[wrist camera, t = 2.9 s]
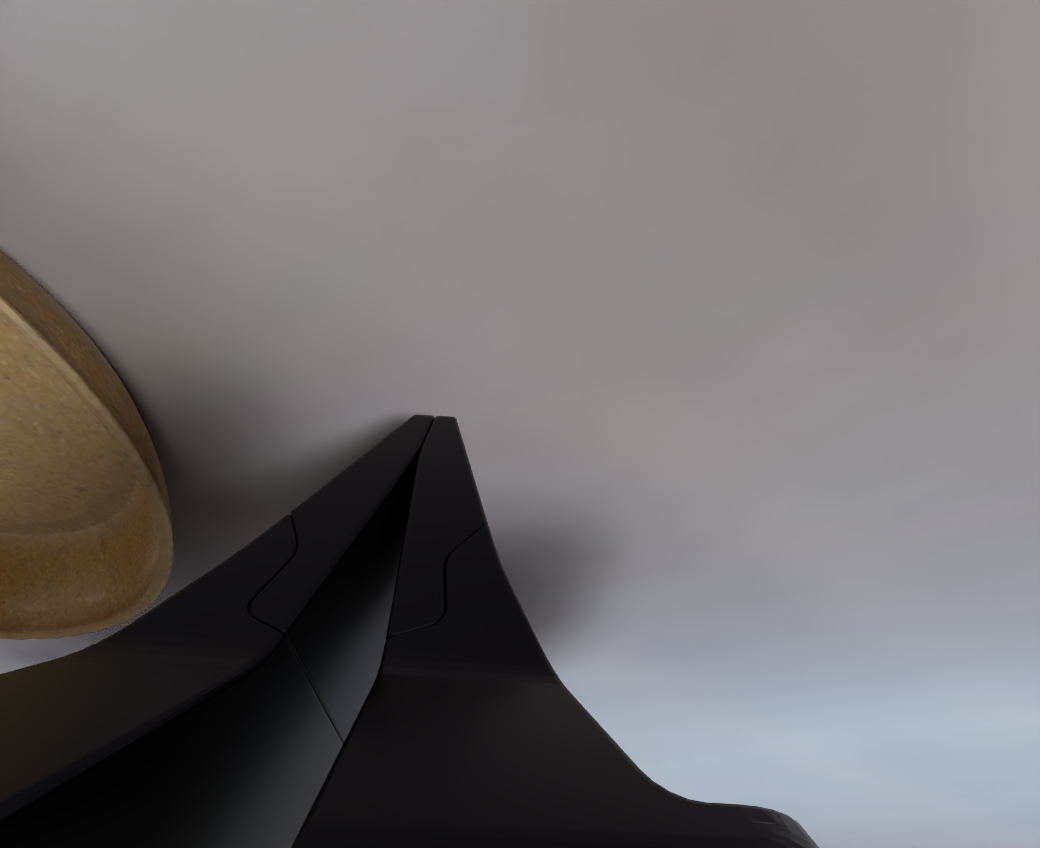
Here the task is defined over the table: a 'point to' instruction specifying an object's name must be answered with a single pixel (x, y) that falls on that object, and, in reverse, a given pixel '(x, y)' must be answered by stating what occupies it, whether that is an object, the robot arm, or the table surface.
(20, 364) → the plant saucer
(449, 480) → the robot arm
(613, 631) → the table surface
